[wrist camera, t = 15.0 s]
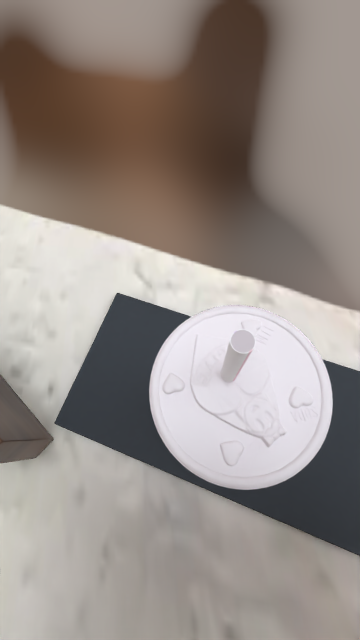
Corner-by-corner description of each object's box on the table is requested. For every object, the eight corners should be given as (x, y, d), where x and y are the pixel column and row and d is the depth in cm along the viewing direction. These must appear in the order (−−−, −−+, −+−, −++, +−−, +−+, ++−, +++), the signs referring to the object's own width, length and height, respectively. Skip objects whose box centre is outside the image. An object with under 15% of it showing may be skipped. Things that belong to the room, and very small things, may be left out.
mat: (396, 385, 20) (400, 384, 19) (370, 559, 17) (374, 562, 16) (118, 294, 23) (116, 292, 23) (56, 423, 20) (53, 423, 20)
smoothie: (231, 340, 21) (274, 191, 8) (296, 419, 19) (499, 397, 6) (154, 395, 20) (61, 332, 7) (214, 485, 18) (235, 630, 5)
